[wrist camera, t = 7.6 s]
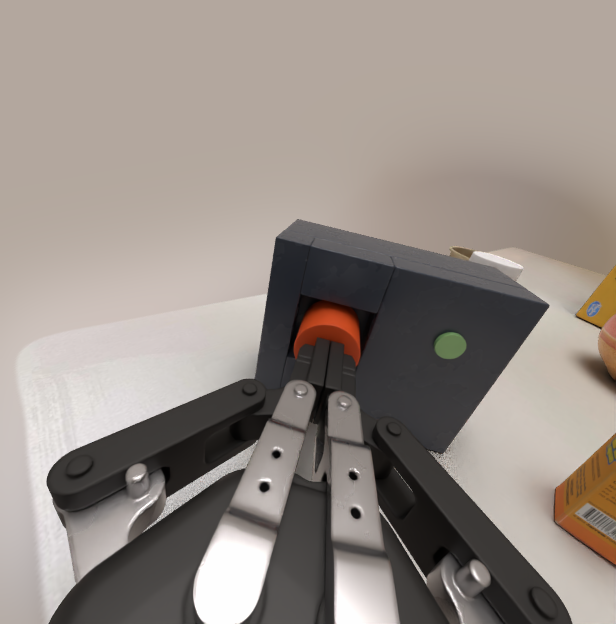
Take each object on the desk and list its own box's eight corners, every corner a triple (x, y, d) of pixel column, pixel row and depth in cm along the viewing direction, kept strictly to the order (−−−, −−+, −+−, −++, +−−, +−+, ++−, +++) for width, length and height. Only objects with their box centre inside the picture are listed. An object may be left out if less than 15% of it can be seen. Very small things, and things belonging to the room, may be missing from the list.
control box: (249, 405, 19) (274, 238, 14) (273, 353, 25) (297, 218, 19) (444, 458, 19) (555, 308, 13) (424, 392, 24) (495, 267, 19)
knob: (288, 370, 16) (300, 316, 14) (297, 340, 18) (308, 292, 17) (349, 386, 15) (369, 334, 14) (350, 354, 18) (366, 307, 16)
